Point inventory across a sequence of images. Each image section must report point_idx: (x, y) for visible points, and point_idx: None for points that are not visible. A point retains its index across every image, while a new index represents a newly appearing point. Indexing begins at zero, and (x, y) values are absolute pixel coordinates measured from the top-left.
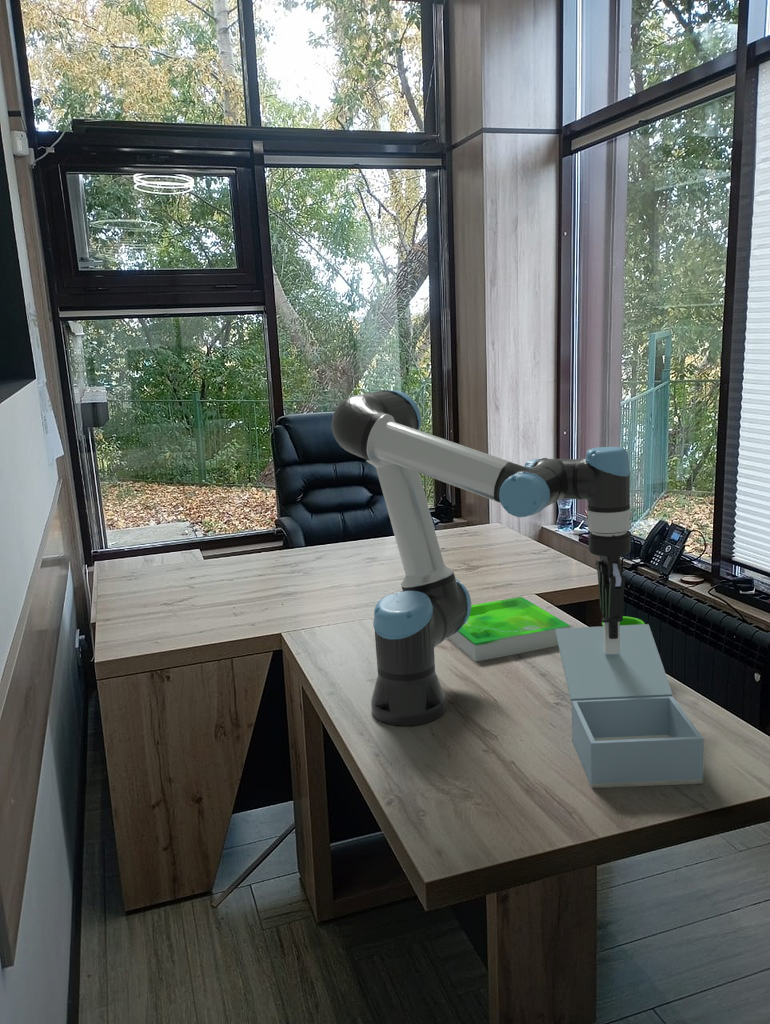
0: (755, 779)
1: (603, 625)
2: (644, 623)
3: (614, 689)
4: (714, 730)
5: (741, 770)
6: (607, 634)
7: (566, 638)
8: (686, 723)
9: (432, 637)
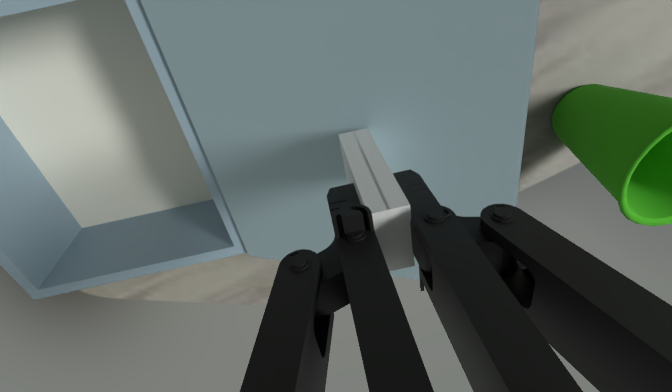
0: (135, 293)
1: (395, 187)
2: (658, 224)
3: (217, 129)
4: None
5: (158, 280)
6: (354, 185)
7: None
8: (108, 271)
9: None
